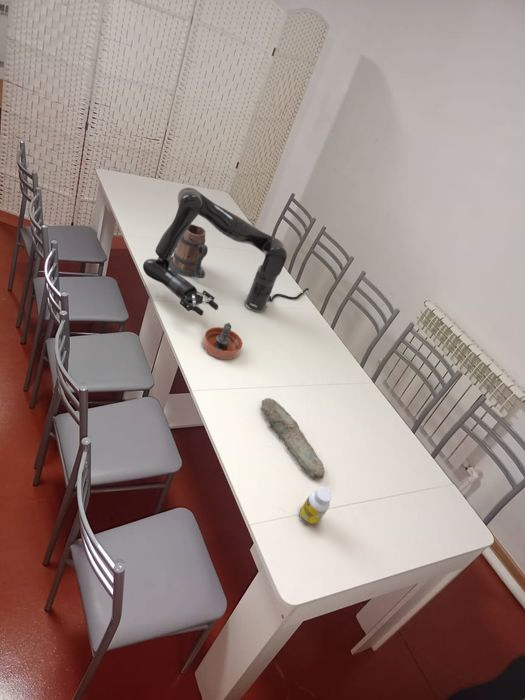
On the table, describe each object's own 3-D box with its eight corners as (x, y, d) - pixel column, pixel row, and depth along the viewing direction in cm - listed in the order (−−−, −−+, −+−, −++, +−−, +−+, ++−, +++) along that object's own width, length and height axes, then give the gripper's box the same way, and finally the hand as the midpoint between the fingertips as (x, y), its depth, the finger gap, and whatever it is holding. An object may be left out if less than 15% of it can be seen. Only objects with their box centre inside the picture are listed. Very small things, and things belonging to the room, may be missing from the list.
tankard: (161, 257, 231) (169, 219, 220) (191, 256, 242) (201, 220, 230) (184, 286, 219) (194, 247, 207) (215, 283, 229) (226, 246, 218)
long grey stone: (305, 487, 155) (327, 479, 161) (313, 478, 152) (334, 470, 158) (252, 404, 173) (273, 400, 179) (258, 394, 170) (279, 391, 176)
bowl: (220, 331, 202) (223, 323, 199) (246, 352, 197) (249, 344, 194) (194, 342, 191) (197, 333, 188) (221, 365, 185) (224, 357, 183)
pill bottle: (297, 505, 147) (312, 482, 140) (317, 508, 149) (332, 486, 142) (300, 524, 142) (315, 502, 135) (320, 527, 144) (336, 505, 137)
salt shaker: (225, 353, 191) (234, 329, 184) (211, 347, 191) (219, 323, 184) (229, 345, 196) (238, 321, 189) (216, 339, 196) (224, 316, 189)
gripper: (171, 284, 189) (199, 307, 184) (196, 277, 200) (224, 298, 194) (167, 300, 194) (195, 323, 188) (192, 292, 204) (219, 313, 198)
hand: (210, 310), depth 191 cm, fingers open, 8 cm apart
